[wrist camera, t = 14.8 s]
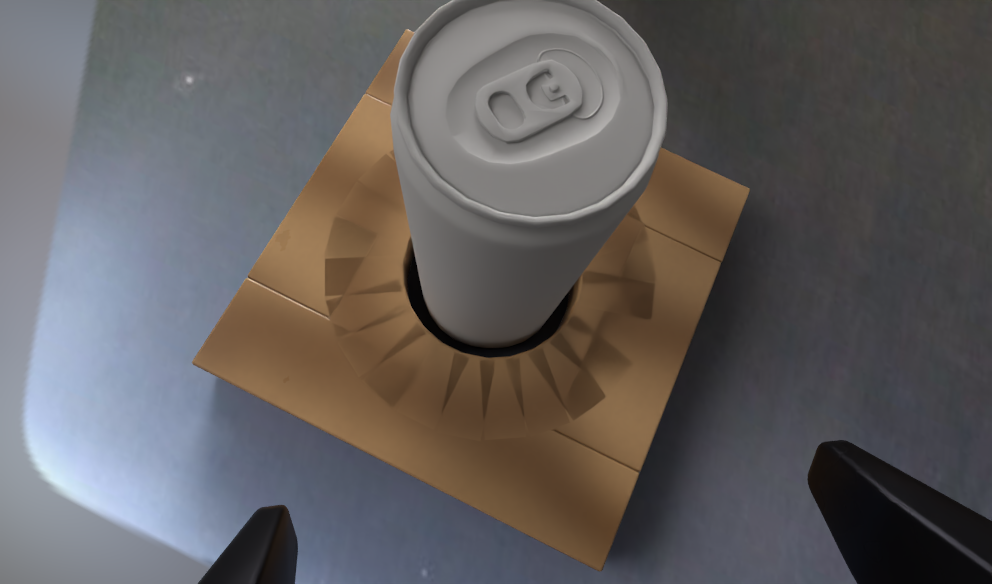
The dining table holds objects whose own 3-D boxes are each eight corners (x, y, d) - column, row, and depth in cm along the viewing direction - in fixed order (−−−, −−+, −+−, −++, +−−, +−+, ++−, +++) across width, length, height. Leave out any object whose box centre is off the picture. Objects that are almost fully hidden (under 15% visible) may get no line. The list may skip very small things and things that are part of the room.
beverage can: (578, 313, 21) (733, 150, 9) (463, 378, 20) (478, 287, 8) (512, 206, 22) (578, -64, 10) (399, 263, 21) (333, 38, 9)
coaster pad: (586, 560, 19) (602, 573, 17) (215, 371, 19) (189, 363, 17) (725, 210, 22) (751, 188, 20) (410, 62, 23) (406, 28, 21)
